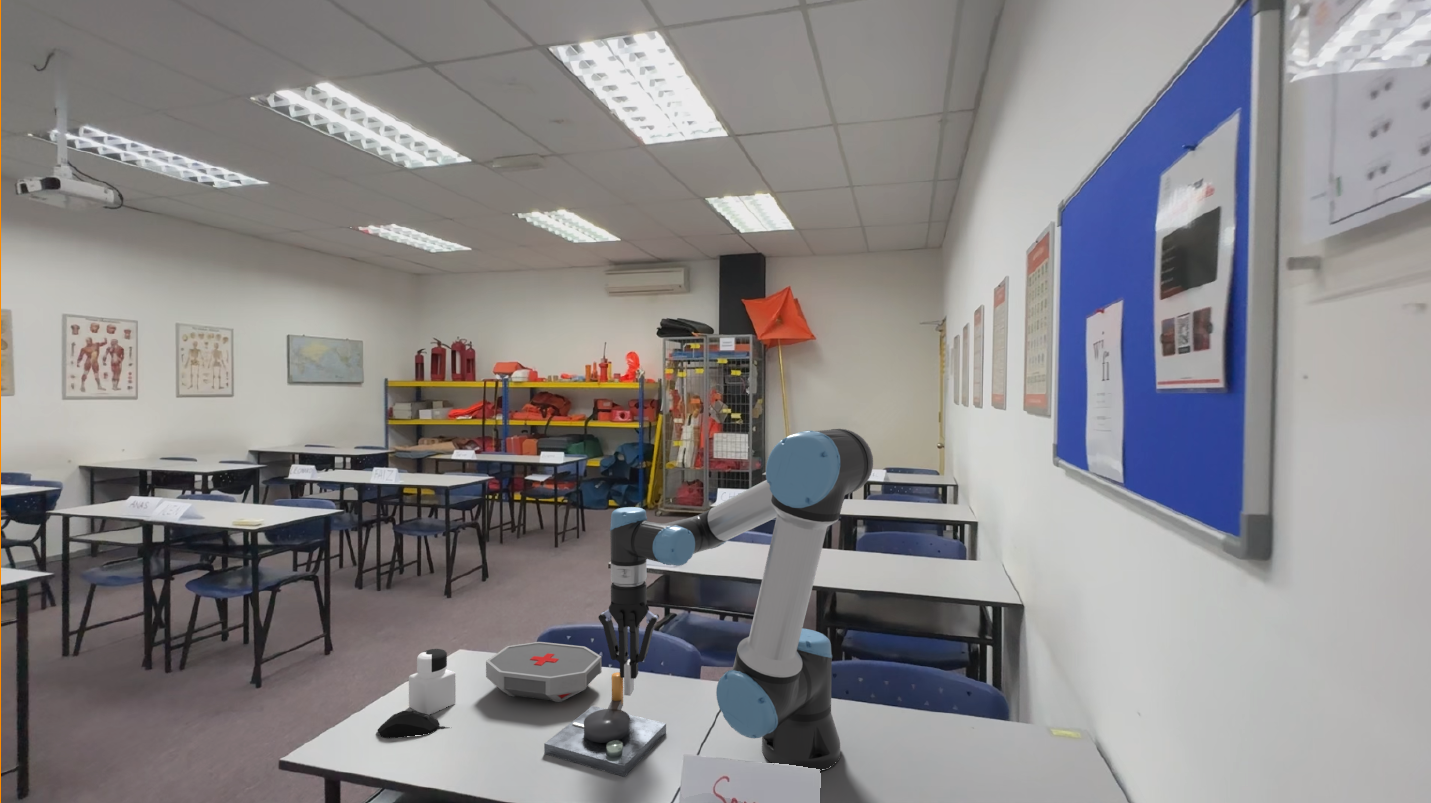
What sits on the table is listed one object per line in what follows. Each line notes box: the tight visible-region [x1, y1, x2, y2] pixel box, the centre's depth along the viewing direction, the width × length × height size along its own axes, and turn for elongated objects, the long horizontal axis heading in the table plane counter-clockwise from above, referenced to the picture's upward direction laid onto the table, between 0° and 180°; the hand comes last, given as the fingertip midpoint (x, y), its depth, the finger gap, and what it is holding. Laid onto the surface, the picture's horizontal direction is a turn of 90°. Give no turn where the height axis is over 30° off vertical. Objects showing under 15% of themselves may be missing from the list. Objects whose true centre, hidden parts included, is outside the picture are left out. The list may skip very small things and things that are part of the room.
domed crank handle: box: [584, 671, 630, 743], centre depth 128 cm, size 15×9×7 cm, turn 176°
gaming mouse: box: [377, 710, 451, 739], centre depth 130 cm, size 6×15×4 cm, turn 94°
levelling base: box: [543, 705, 667, 778], centre depth 125 cm, size 18×16×3 cm
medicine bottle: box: [408, 648, 457, 716], centre depth 140 cm, size 7×7×12 cm
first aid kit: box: [485, 641, 603, 703], centre depth 147 cm, size 18×8×25 cm
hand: (629, 692), depth 133 cm, fingers closed
